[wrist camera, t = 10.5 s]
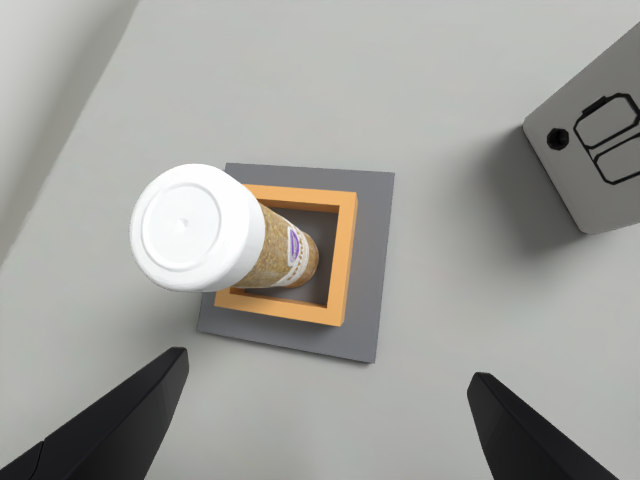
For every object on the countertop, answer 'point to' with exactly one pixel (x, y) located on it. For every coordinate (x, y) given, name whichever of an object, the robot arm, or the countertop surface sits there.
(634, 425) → the countertop surface
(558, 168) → the electrical switch
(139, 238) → the sprinkles bottle
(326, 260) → the socket
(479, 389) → the robot arm
